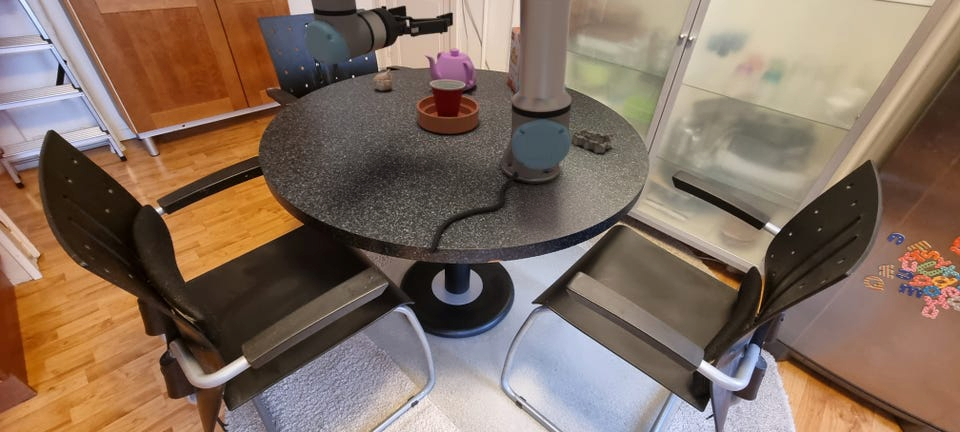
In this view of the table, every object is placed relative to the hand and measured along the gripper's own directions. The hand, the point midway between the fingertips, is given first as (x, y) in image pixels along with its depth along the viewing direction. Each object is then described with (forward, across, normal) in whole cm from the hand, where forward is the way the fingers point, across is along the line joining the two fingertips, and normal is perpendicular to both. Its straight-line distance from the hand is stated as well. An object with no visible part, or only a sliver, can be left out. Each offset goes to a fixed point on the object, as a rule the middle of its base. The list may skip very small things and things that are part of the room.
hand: (427, 15), depth 92 cm
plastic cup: (+10, 0, -32) cm, 33 cm away
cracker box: (+52, +8, -32) cm, 61 cm away
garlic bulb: (+22, -35, -32) cm, 52 cm away
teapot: (+38, -15, -32) cm, 52 cm away
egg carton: (+18, +44, -32) cm, 57 cm away
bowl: (+10, 0, -32) cm, 33 cm away
